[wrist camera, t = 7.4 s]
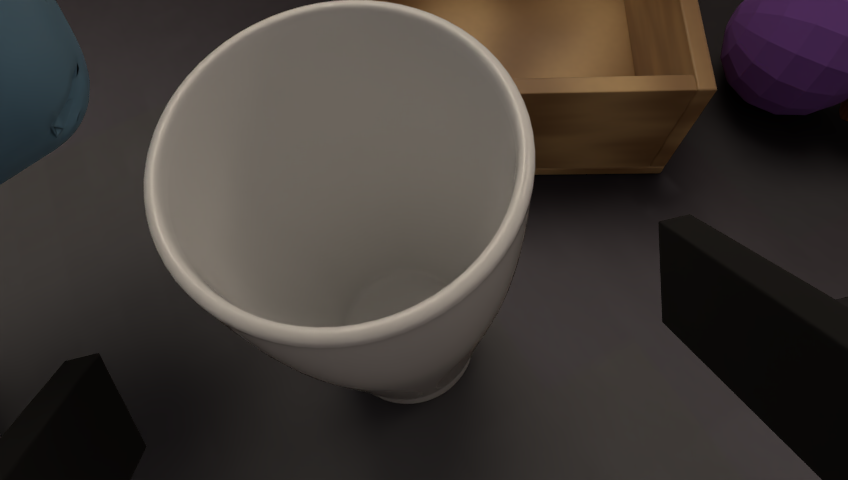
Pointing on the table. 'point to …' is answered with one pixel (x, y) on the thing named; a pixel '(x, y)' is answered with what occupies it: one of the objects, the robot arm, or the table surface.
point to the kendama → (789, 55)
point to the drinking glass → (347, 193)
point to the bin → (596, 75)
